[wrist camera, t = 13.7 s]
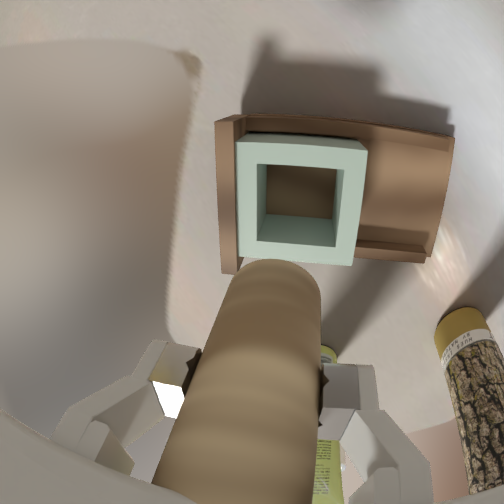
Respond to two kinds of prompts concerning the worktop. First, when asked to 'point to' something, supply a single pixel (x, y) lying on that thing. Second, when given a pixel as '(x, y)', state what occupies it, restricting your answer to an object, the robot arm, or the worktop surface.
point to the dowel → (252, 395)
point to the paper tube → (475, 393)
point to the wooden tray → (324, 179)
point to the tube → (328, 459)
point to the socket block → (294, 227)
